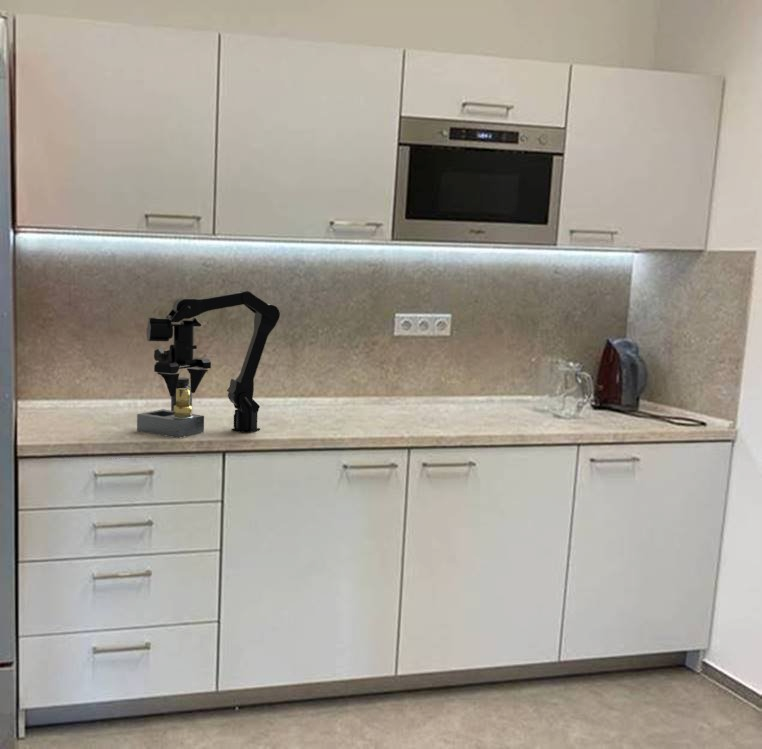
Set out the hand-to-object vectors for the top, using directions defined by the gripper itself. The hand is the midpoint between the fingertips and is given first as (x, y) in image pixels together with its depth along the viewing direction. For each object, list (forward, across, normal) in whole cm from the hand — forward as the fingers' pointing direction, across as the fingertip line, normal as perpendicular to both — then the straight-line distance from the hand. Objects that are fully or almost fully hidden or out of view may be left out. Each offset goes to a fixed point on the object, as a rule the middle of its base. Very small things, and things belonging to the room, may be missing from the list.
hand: (182, 394), depth 254 cm
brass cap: (+6, 0, 0) cm, 6 cm away
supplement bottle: (+12, -24, -20) cm, 33 cm away
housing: (+12, 0, -4) cm, 12 cm away
